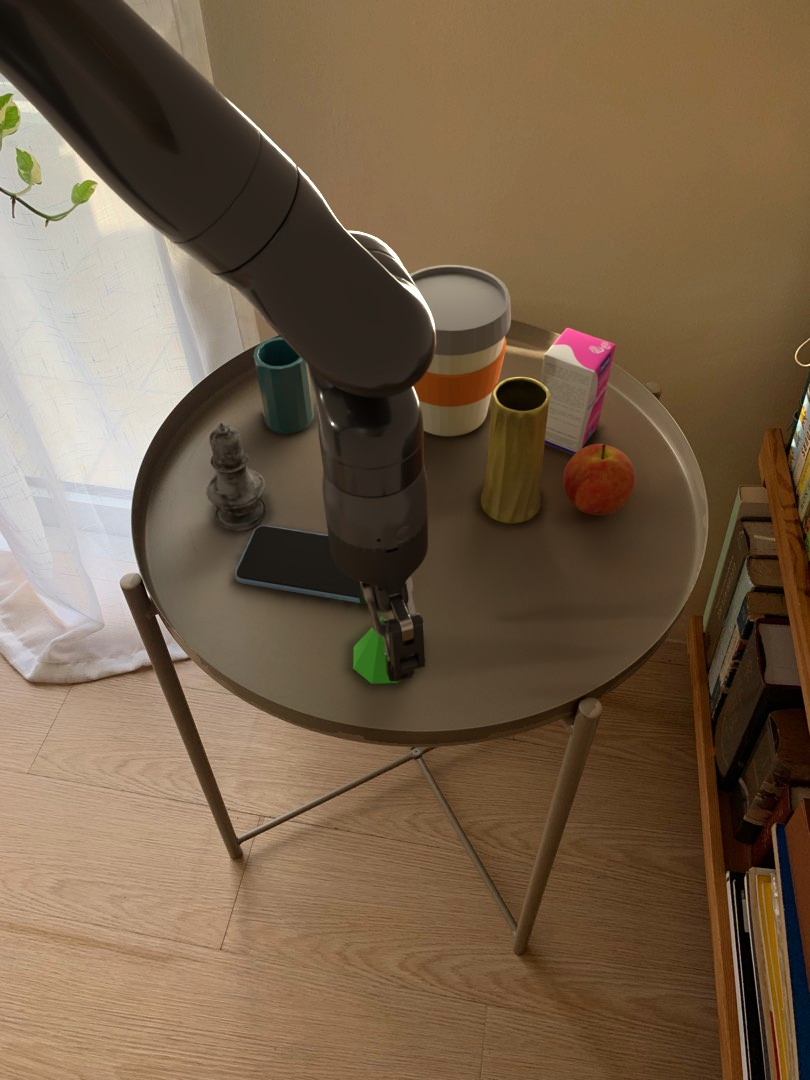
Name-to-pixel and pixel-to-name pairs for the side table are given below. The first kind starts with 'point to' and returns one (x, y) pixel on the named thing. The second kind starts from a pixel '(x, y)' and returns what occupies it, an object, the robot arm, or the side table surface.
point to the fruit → (598, 479)
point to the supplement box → (575, 388)
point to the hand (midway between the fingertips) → (385, 636)
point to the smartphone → (294, 564)
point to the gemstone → (371, 658)
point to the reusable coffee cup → (462, 346)
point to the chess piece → (234, 483)
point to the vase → (515, 450)
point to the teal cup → (283, 387)
